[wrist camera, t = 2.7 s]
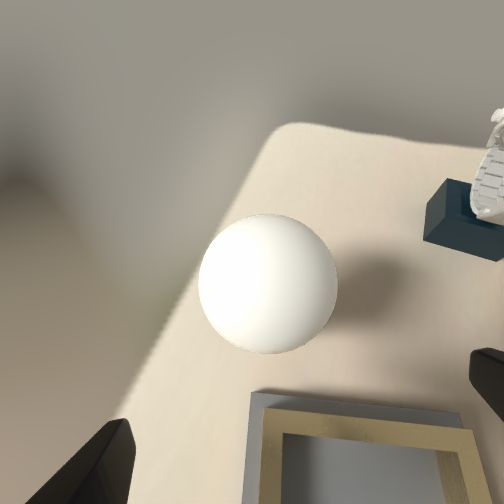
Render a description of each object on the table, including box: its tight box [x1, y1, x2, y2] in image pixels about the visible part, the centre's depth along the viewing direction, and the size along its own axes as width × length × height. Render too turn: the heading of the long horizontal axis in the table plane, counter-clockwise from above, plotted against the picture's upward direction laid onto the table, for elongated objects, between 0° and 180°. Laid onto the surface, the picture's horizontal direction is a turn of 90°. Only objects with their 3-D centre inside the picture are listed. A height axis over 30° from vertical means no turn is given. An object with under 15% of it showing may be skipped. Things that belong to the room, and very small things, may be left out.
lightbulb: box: [199, 214, 338, 354], centre depth 14 cm, size 6×6×11 cm
